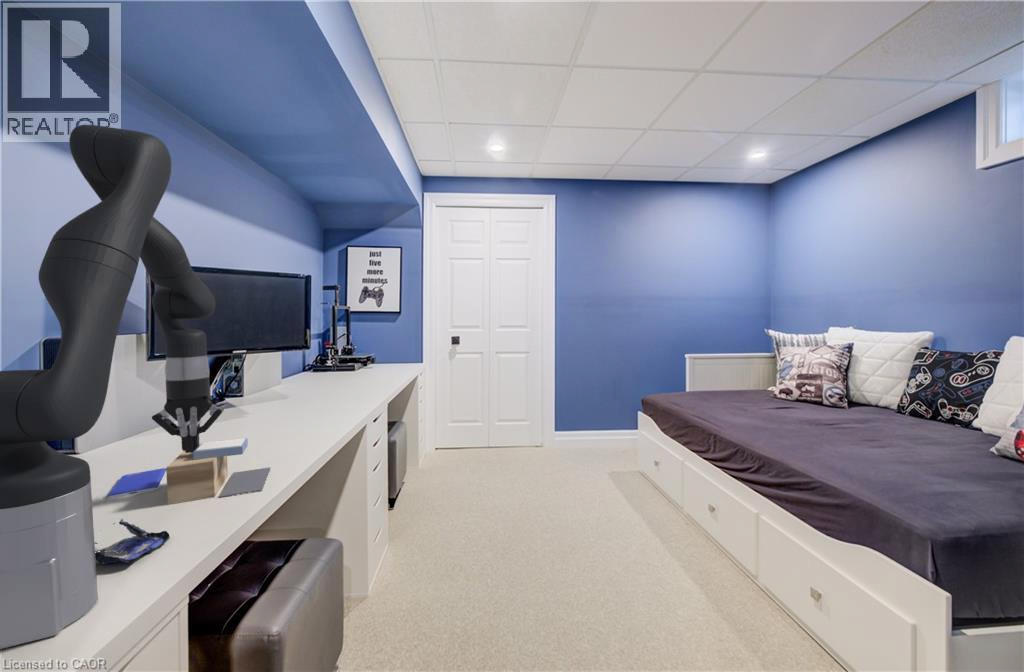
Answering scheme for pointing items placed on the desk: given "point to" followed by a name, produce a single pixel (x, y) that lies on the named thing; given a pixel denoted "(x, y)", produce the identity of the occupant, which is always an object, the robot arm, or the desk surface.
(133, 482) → the hard drive
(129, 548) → the snack package
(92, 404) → the robot arm
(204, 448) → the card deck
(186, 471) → the oak step
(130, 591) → the desk surface
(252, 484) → the rubber mat
